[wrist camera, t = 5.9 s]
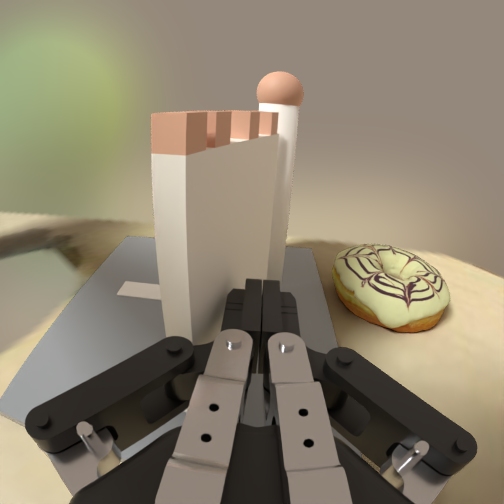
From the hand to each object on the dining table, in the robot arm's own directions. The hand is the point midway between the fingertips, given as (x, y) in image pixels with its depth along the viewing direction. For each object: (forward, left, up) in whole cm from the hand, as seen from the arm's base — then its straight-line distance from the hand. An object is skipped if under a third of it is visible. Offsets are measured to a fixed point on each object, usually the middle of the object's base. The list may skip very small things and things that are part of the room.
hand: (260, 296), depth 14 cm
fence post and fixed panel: (0, +12, -6) cm, 13 cm away
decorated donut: (+11, +10, -7) cm, 17 cm away
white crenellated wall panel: (-2, +1, -5) cm, 6 cm away
